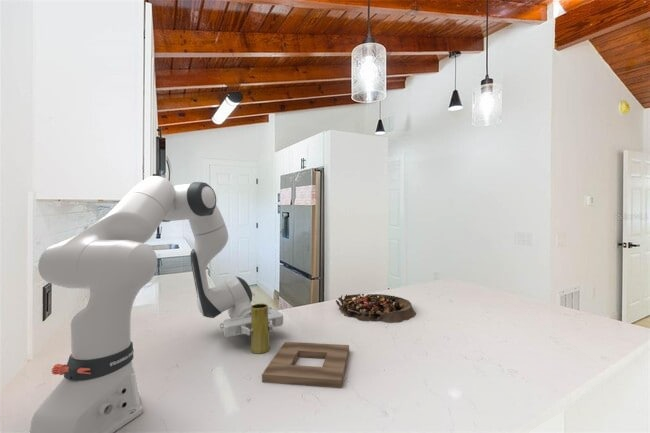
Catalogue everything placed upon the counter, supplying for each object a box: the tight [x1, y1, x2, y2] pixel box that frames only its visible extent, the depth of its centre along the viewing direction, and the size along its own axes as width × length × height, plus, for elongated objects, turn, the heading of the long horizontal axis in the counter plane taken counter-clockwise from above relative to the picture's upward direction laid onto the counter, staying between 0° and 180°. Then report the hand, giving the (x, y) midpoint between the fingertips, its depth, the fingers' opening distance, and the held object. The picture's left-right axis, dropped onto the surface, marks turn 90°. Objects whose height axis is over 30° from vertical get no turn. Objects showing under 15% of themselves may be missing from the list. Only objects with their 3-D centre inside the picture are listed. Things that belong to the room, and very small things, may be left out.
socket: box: [261, 341, 350, 389], centre depth 93 cm, size 21×21×2 cm
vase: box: [250, 303, 271, 354], centre depth 104 cm, size 6×6×14 cm
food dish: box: [335, 293, 417, 324], centre depth 142 cm, size 35×33×8 cm
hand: (261, 330), depth 103 cm, fingers closed on vase, 5 cm apart
